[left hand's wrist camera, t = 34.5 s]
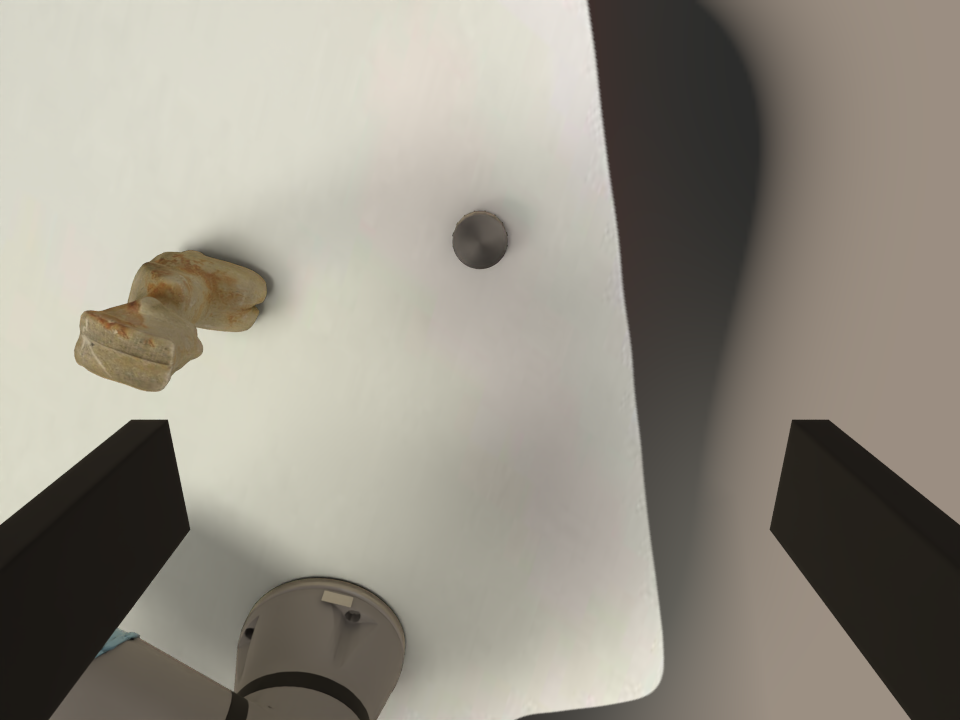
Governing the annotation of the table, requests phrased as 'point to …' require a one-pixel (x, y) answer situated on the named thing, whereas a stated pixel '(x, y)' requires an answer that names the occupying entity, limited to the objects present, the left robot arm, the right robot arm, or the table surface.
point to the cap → (479, 240)
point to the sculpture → (167, 318)
